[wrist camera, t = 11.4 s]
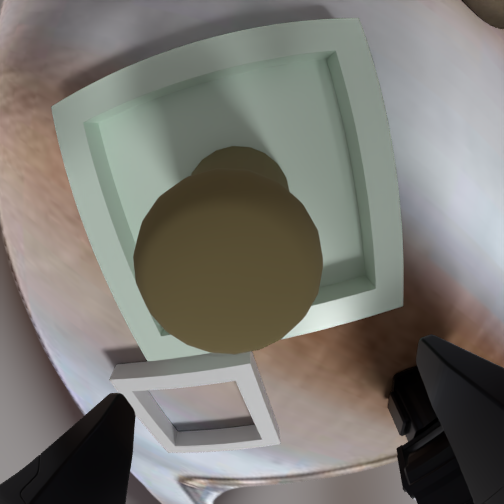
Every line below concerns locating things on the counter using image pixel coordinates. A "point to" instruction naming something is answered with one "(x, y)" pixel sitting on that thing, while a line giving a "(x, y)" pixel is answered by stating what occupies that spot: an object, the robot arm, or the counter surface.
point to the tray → (245, 135)
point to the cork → (229, 255)
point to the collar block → (196, 374)
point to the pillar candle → (489, 11)
